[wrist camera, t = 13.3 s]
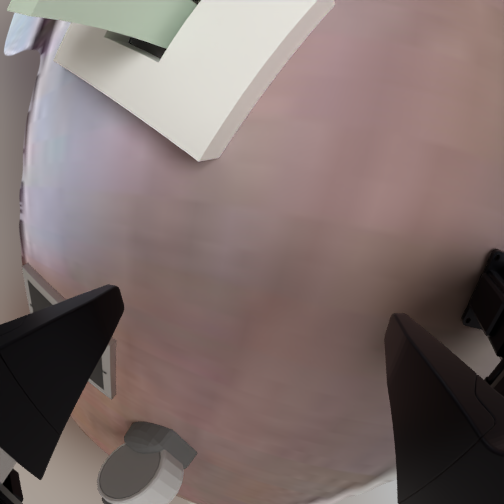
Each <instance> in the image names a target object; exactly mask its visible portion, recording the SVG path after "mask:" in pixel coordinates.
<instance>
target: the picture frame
mask: <svg viewBox="0 0 504 504" xmlns="http://www.w3.org/2000/svg"><path fill="white" fill-rule="evenodd" d="M22 270H23V276H24V283H25V289H26V294H27V300H28V305H29V309H30V314H31V313H33V312H36V311H38V310H41V309H44V308H46V307H49V306H51V305H54V304H57V303H59V302H62V301H65V300H66V299H65V298H64V297H63V296H61V295H60V294H59V293H58V292H57V291H56V290H55V289H54V288H53V287H52V286H51V285H50V284H49V283H48V282H47V281H46V280H44V279H43V278H42V277H41V276H40V275H39V274H38V273H37V272H36V271H35V270H34V269H33V268H32V266H31V265H30V264H29V263H27V264H25V265H23V266H22ZM88 381H89V382H90V383H91V384H92V385H93V386H95V387H96V388H97V389H98V390H100V391H101V392H102V393H103V394H105V395H106V396H107V397H109V398H110V399H111V400H112V399H113V398H114V396H115V395H116V340H115V339H114V338H111V340H110V342H109V344H108V346H107V348H106V350H105V351H104V353H103V355H102V357H101V358H100V360H99V362H98V364H97V365H96V367H95V369H94V371H93V373H92V375H91V376H90V378H89V380H88Z"/></svg>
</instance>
